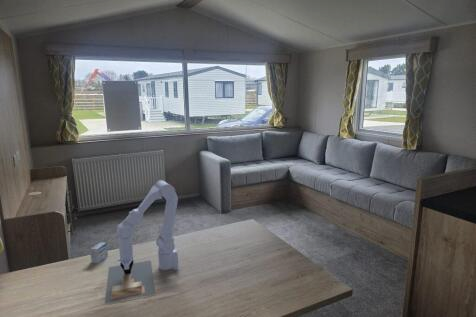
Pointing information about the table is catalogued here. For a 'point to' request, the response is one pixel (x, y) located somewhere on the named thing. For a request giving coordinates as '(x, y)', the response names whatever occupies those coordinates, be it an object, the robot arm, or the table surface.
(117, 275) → the mat
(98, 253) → the medicine box
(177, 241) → the table surface
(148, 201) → the robot arm
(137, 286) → the t block
